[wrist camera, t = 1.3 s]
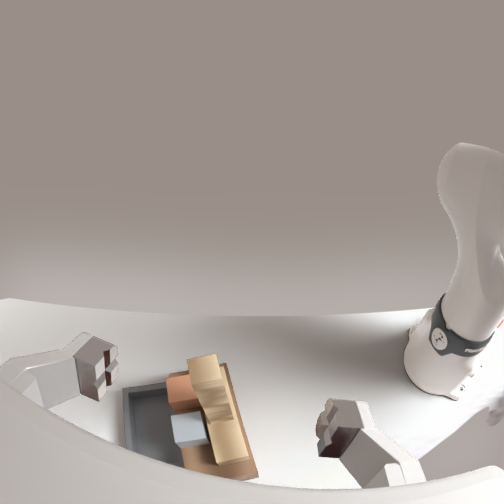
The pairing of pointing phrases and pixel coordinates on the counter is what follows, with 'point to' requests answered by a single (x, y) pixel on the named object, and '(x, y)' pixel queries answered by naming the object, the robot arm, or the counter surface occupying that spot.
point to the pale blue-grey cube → (189, 429)
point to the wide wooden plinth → (204, 455)
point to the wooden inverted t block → (218, 409)
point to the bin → (150, 423)
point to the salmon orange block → (181, 393)
